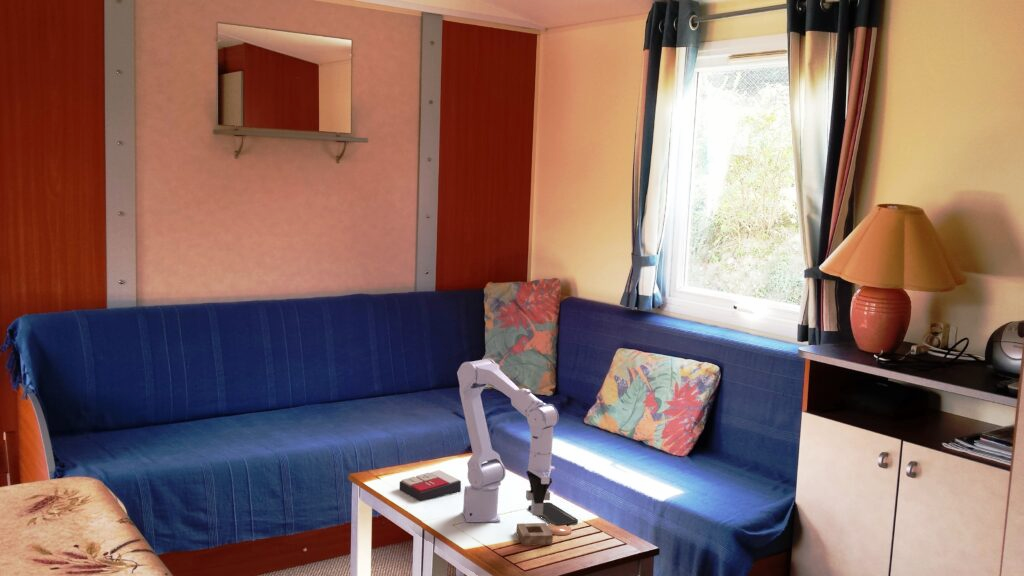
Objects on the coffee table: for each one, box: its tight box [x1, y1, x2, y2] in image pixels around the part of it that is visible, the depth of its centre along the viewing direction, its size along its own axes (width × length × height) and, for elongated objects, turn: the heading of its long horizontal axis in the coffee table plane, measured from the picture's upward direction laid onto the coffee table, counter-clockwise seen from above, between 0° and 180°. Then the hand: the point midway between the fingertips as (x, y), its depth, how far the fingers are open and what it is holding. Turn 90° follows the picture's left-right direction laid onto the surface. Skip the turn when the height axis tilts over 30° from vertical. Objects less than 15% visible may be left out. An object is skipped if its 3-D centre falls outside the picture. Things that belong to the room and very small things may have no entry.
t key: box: [525, 489, 551, 516], centre depth 235 cm, size 6×3×6 cm, turn 101°
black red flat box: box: [399, 469, 462, 502], centre depth 266 cm, size 11×4×15 cm
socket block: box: [516, 522, 554, 546], centre depth 236 cm, size 8×8×2 cm
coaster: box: [547, 523, 573, 536], centre depth 243 cm, size 7×7×1 cm
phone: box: [527, 501, 579, 526], centre depth 253 cm, size 8×1×15 cm
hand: (537, 500), depth 235 cm, fingers closed on t key, 3 cm apart
